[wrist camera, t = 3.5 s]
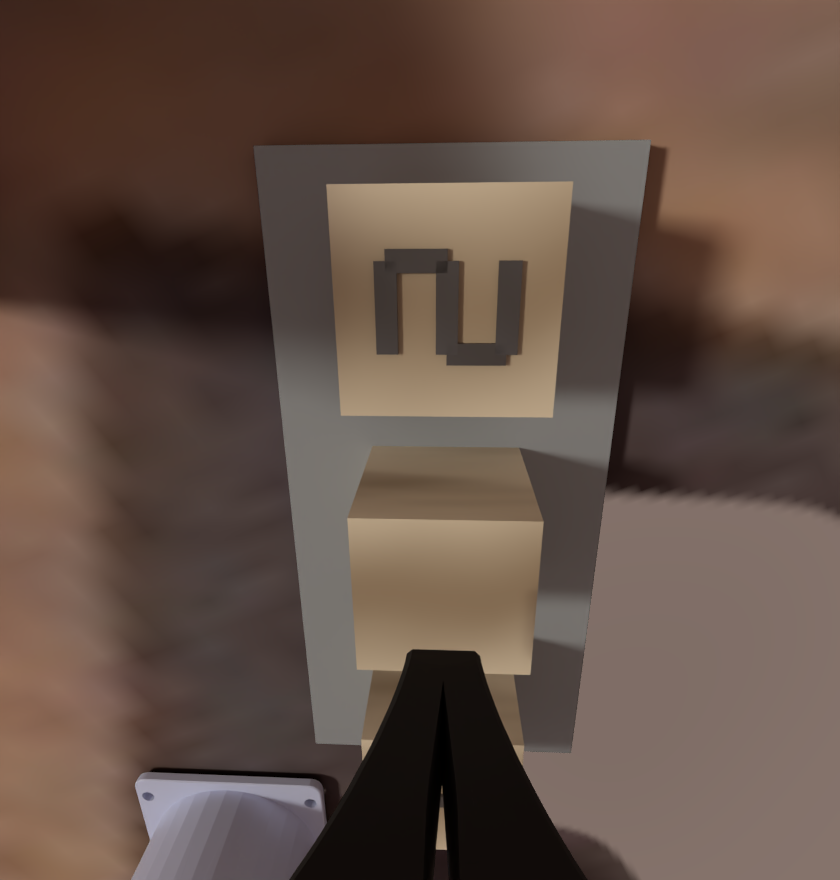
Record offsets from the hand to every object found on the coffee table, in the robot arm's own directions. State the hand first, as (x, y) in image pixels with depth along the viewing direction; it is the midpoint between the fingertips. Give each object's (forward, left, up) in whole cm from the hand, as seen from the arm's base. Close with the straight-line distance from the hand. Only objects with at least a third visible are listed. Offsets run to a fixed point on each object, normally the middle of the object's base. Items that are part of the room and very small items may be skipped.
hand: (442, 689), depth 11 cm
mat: (0, 0, -8) cm, 8 cm away
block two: (+7, 0, -7) cm, 10 cm away
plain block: (0, 0, -7) cm, 7 cm away
